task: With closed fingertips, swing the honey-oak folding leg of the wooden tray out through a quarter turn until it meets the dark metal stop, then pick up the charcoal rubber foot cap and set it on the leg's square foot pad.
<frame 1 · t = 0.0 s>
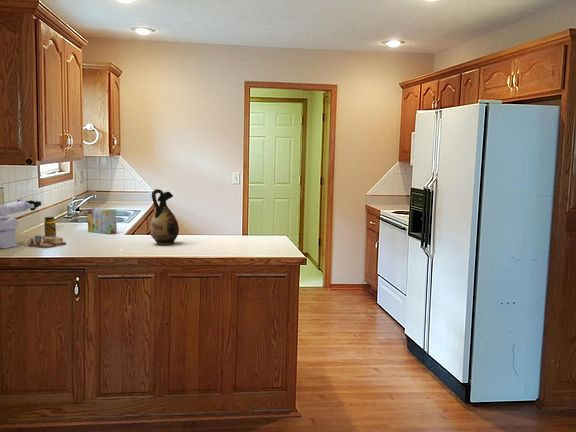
hand: (35, 203, 320), 22 cm above the table, tool horizontal, fingers open, 7 cm apart
stop bracket: (51, 241, 321), on the table
oak leg: (52, 240, 309), point 3 cm above the table, hinge at 0.0°
condiment: (49, 237, 337), on the table
snack box: (102, 233, 355), on the table
ceramic jug: (163, 244, 311), on the table
wooden tray: (47, 245, 308), on the table
foot cap: (38, 243, 317), on the table
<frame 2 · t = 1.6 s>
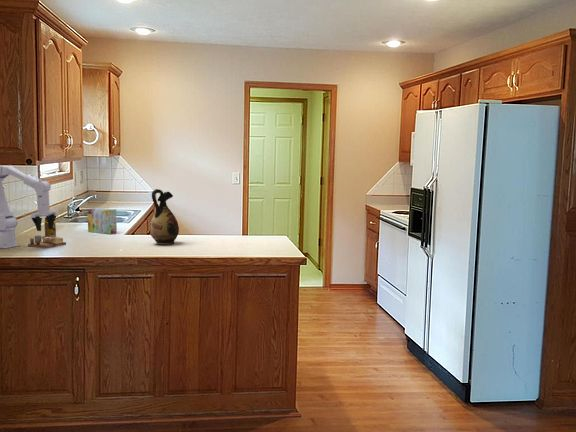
hand: (44, 229, 300), 9 cm above the table, tool pointing down, fingers open, 7 cm apart
nothing on the table moved.
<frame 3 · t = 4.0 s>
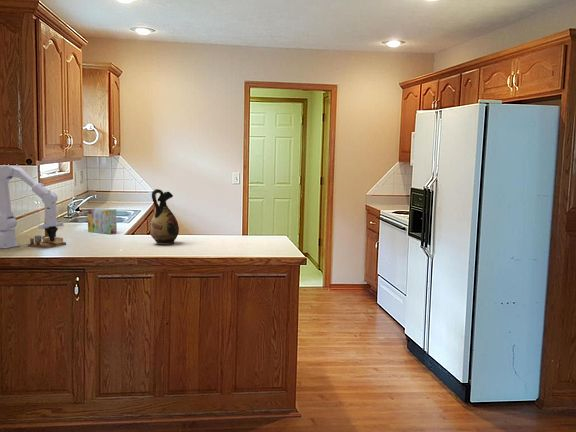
hand: (52, 241, 305), 3 cm above the table, tool pointing down, fingers closed, pressing on oak leg
oak leg: (52, 240, 309), point 3 cm above the table, hinge at 0.5°, touching gripper
everything else where it was.
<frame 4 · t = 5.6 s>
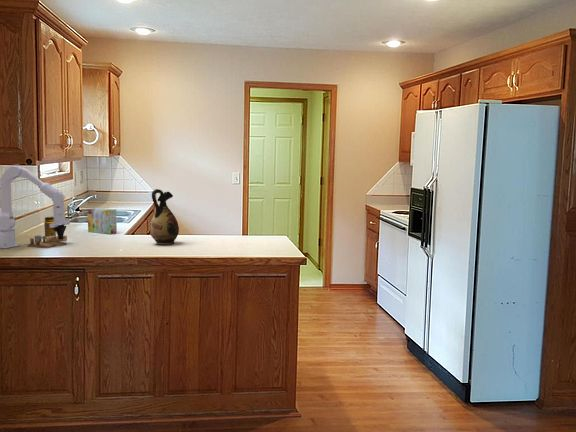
hand: (60, 239, 310), 3 cm above the table, tool pointing down, fingers closed, pressing on oak leg
oak leg: (56, 238, 313), point 3 cm above the table, hinge at 40.6°, touching gripper
everything else where it was.
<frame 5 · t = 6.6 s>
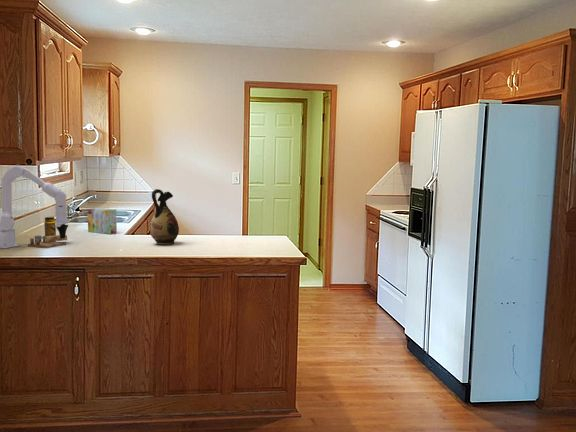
hand: (62, 238, 314), 3 cm above the table, tool pointing down, fingers closed, pressing on oak leg
oak leg: (56, 238, 315), point 3 cm above the table, hinge at 62.9°, touching gripper
everything else where it was.
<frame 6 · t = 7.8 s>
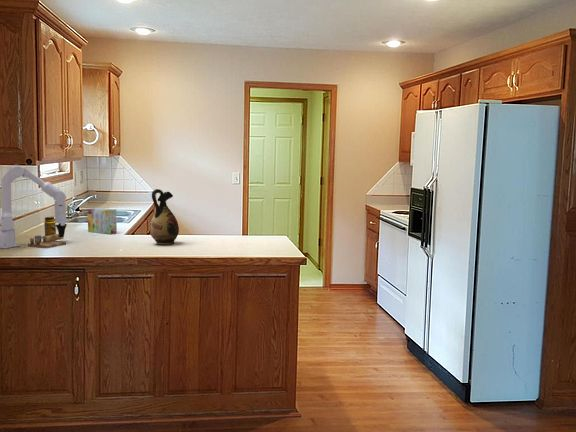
hand: (61, 237, 318), 3 cm above the table, tool pointing down, fingers closed, pressing on oak leg
oak leg: (53, 237, 317), point 3 cm above the table, hinge at 91.6°, touching gripper, stop bracket
everything else where it was.
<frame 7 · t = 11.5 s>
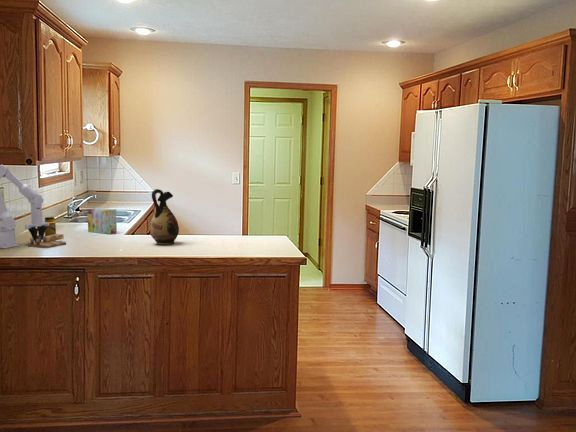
hand: (38, 240, 316), 2 cm above the table, tool pointing down, fingers closed on foot cap, 3 cm apart
oak leg: (53, 237, 317), point 3 cm above the table, hinge at 91.6°, touching stop bracket
foot cap: (38, 243, 317), on the table, touching gripper
everything else where it was.
when the fingers open (7 cm above the table, at t = 13.7 s): foot cap stays where it is, resting on oak leg.
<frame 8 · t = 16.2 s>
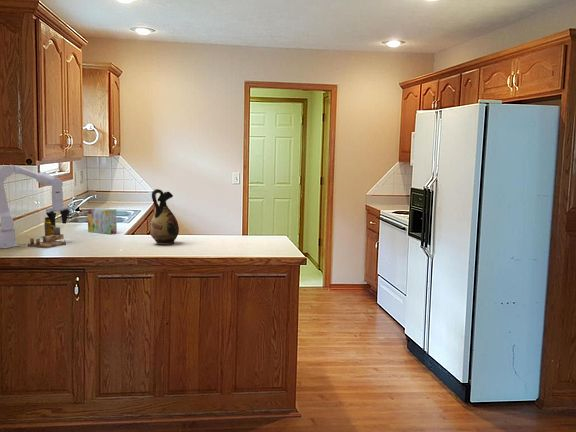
hand: (58, 224, 315), 10 cm above the table, tool pointing down, fingers open, 7 cm apart
oak leg: (53, 237, 317), point 3 cm above the table, hinge at 91.6°, touching foot cap, stop bracket
foot cap: (57, 234, 319), point 4 cm above the table, touching oak leg
everything else where it was.
at the end: oak leg at +92° (first picture: +0°); foot cap 0.1 cm from the target spot on the oak leg, point 4.0 cm above the oak leg's base; foot cap tilted 0° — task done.
